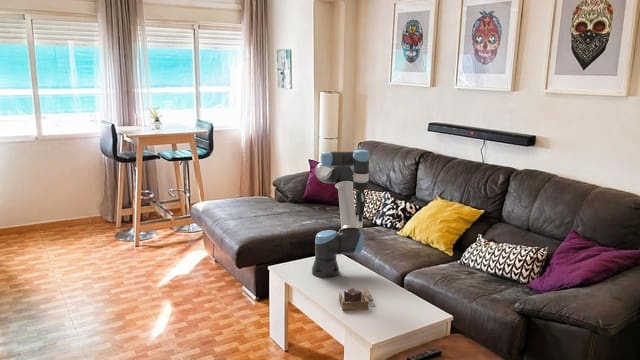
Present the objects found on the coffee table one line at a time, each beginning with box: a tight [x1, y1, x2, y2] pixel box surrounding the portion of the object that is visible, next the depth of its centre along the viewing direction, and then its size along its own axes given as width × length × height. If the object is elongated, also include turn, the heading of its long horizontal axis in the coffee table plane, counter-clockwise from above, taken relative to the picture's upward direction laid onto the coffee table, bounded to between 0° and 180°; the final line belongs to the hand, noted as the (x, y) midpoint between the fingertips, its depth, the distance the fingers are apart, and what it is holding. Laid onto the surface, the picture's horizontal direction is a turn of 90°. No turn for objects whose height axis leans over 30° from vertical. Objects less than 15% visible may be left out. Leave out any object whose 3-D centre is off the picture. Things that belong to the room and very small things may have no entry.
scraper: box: [363, 287, 376, 308], centre depth 252 cm, size 17×2×2 cm, turn 7°
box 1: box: [343, 287, 363, 302], centre depth 244 cm, size 6×6×7 cm
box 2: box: [338, 291, 369, 312], centre depth 246 cm, size 12×12×4 cm
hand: (359, 227), depth 260 cm, fingers closed
